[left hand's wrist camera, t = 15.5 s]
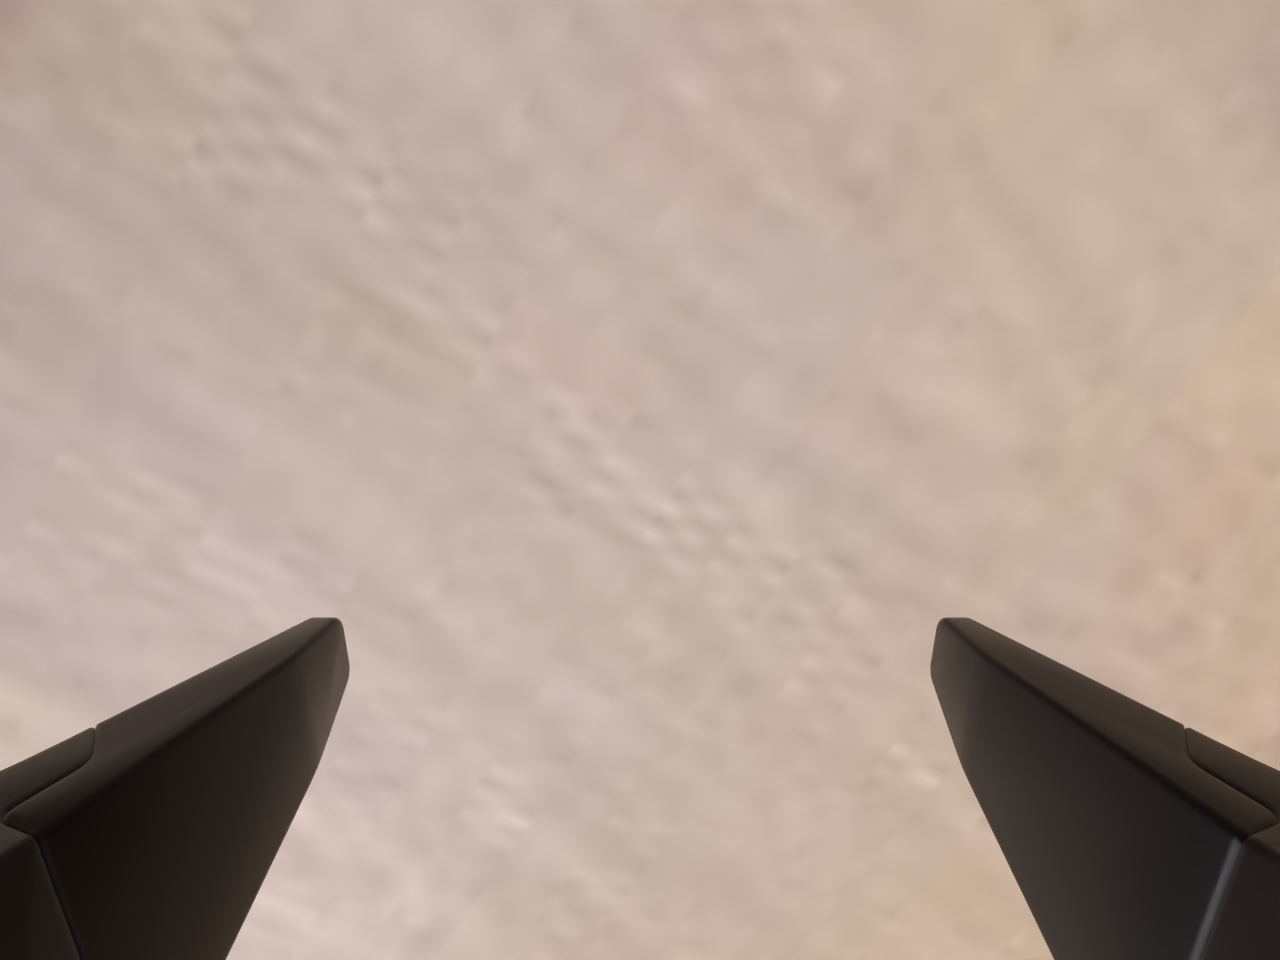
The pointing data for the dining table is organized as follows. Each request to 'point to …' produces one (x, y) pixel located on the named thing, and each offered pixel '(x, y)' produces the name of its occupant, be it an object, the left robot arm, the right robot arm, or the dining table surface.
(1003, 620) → the dining table surface
